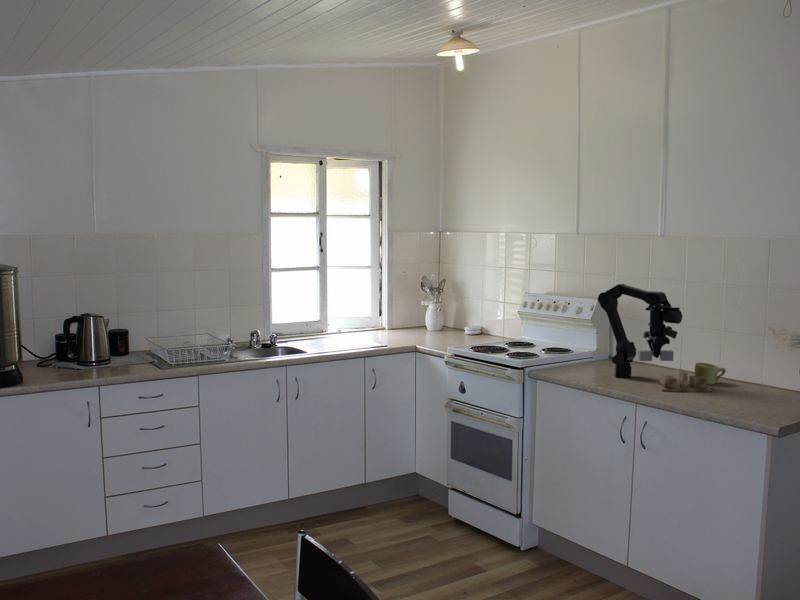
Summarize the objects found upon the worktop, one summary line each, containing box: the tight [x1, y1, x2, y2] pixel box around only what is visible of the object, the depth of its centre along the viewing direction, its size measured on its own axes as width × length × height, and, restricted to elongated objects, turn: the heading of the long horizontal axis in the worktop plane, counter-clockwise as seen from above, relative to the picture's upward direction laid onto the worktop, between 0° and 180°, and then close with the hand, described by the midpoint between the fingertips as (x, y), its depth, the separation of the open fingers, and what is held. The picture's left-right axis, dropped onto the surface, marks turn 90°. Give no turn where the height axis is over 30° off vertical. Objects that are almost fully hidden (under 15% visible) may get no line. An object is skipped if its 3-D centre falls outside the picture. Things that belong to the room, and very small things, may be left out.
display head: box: [655, 371, 712, 393], centre depth 313 cm, size 20×9×7 cm, turn 87°
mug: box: [694, 362, 727, 386], centre depth 324 cm, size 12×10×10 cm
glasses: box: [637, 349, 675, 362], centre depth 325 cm, size 14×3×4 cm, turn 87°
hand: (655, 357), depth 325 cm, fingers closed on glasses, 3 cm apart
